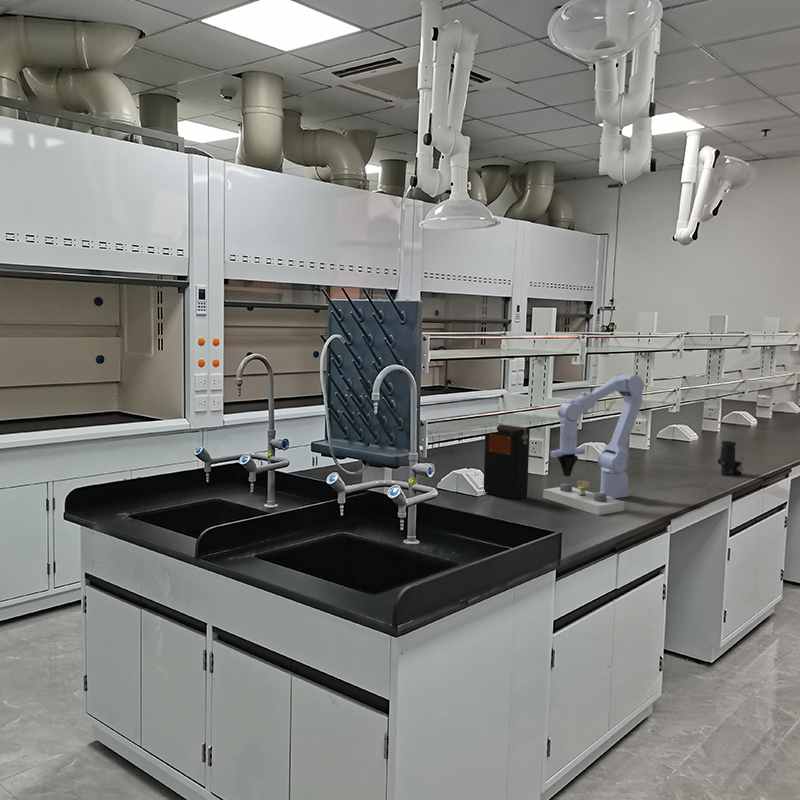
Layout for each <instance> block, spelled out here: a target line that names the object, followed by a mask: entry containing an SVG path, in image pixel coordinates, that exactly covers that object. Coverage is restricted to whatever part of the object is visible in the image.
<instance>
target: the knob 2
mask: <svg viewBox="0 0 800 800" xmlns="http://www.w3.org/2000/svg"><path fill="white" fill-rule="evenodd" d="M594 493H595V494H594V500H595V501H598V502H606V500H607V495H606V494H603V493H598V492H594Z"/></svg>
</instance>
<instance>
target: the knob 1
mask: <svg viewBox="0 0 800 800" xmlns="http://www.w3.org/2000/svg"><path fill="white" fill-rule="evenodd" d="M559 485H560V486H559V487H560V490H561V491H565V492H570V491H572V487H573V484H571V483H560V484H559Z"/></svg>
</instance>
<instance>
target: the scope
mask: <svg viewBox="0 0 800 800" xmlns="http://www.w3.org/2000/svg"><path fill="white" fill-rule="evenodd" d="M736 444H737V443H736V442H735V441H726V440H723V441H721V445H722V446H721V450H720V456H719V457H720V458H718V460H717V463H718V464H719V465H720V466H721V473H720V475H721V476H724V477H732V476H734V475H737V476H739V475H742V474H743V473H742V472H744V470H745V468H744V467H743V466H744V456H741V457H740V460H739V461H736V446H737V445H736Z"/></svg>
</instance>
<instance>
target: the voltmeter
mask: <svg viewBox="0 0 800 800" xmlns="http://www.w3.org/2000/svg"><path fill="white" fill-rule="evenodd" d="M499 424H500V425H499V426H498V427H497V430H498V432H496V433H494V434H489V435H484V458H483V459H484V461H483V463H484V464H483V486H484V490H485V492H487V493H486V494H490V495H494V496H495V495H496V496H499V497H503V498H509V499H512V500H518V499H520V498H525V499H526V498H527V497H528V488H529V487H528V484H529V483H528V482H529V481H528V479H529V477H528V476H529V459H530V434H531V433H530V431H531V429H530V428H529V427H525V426H519V425H512V424H511V425H509V424H503V423H499ZM501 424H502V425H501ZM485 492H484V493H485Z"/></svg>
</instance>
